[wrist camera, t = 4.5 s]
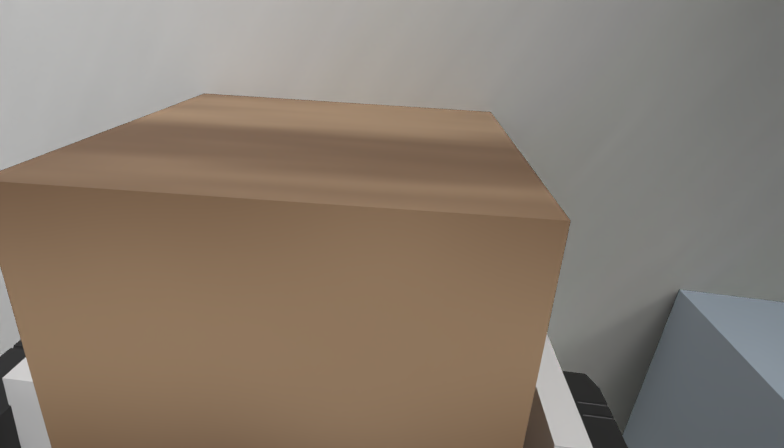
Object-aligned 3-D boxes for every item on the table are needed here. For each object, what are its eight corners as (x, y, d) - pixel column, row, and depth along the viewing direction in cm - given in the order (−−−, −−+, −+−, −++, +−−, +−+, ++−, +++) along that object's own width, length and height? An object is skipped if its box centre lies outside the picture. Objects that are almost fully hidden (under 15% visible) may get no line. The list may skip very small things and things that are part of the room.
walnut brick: (205, 92, 14) (-25, 179, 7) (489, 111, 14) (570, 220, 7) (234, 419, 19) (116, 680, 11) (447, 436, 19) (467, 712, 11)
